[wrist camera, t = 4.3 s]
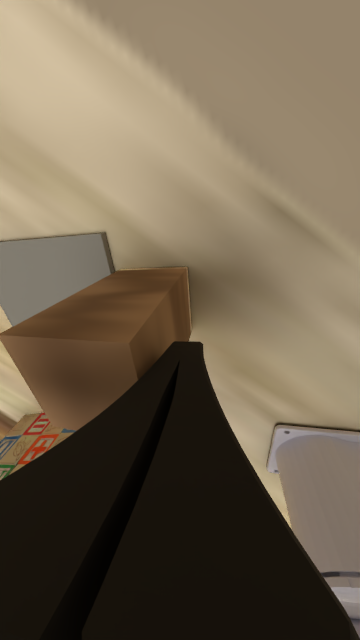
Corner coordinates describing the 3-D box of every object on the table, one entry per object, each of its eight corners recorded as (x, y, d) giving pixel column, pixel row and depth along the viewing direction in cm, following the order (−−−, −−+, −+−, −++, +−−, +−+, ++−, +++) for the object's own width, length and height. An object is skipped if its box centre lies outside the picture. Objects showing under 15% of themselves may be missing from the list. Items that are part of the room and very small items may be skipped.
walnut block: (187, 266, 13) (129, 343, 6) (191, 330, 16) (154, 445, 8) (120, 269, 15) (-3, 334, 7) (133, 328, 17) (52, 426, 9)
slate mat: (105, 232, 13) (100, 233, 13) (133, 352, 18) (131, 356, 18) (-25, 243, 16) (-33, 244, 15) (31, 348, 20) (26, 352, 20)
